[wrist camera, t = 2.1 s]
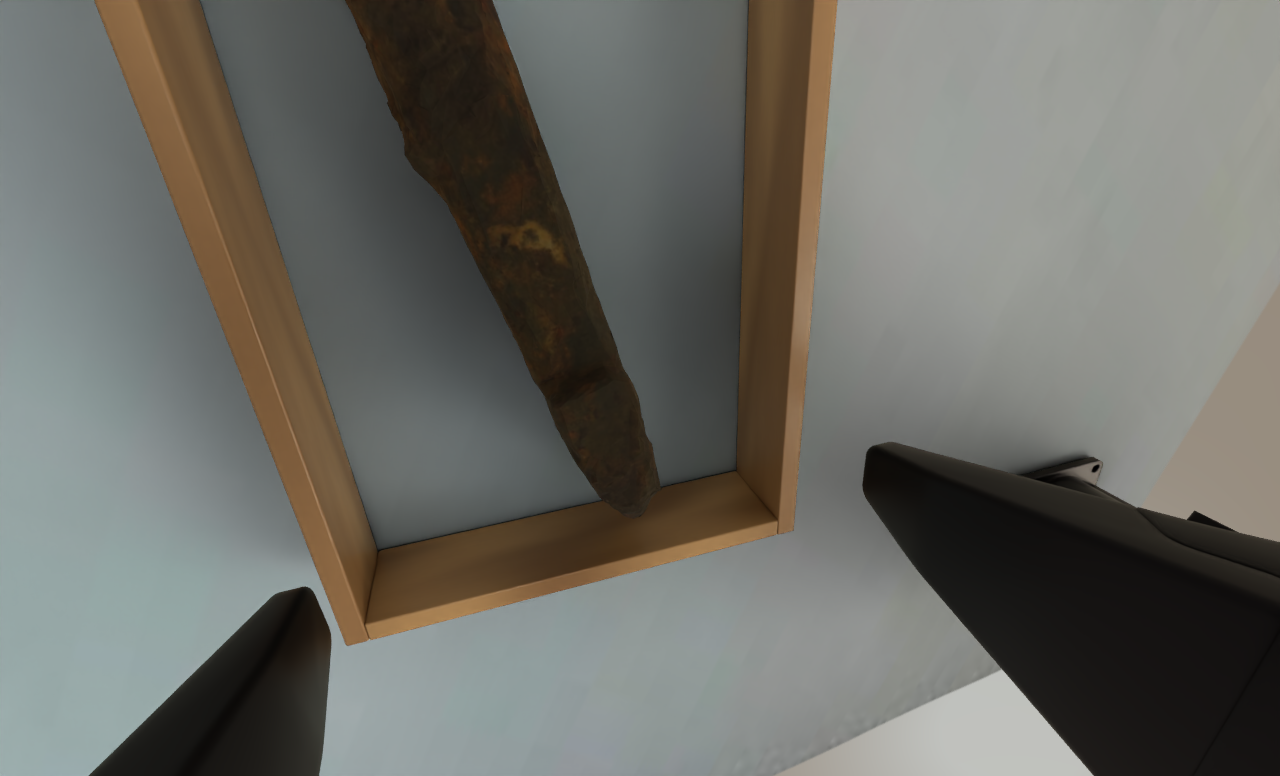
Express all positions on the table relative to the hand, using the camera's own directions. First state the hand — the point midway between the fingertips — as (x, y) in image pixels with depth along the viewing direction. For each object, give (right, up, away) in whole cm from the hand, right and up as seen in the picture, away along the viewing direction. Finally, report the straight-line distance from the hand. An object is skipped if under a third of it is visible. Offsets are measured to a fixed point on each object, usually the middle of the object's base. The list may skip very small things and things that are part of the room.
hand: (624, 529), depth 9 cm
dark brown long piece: (-3, +7, +9) cm, 12 cm away
